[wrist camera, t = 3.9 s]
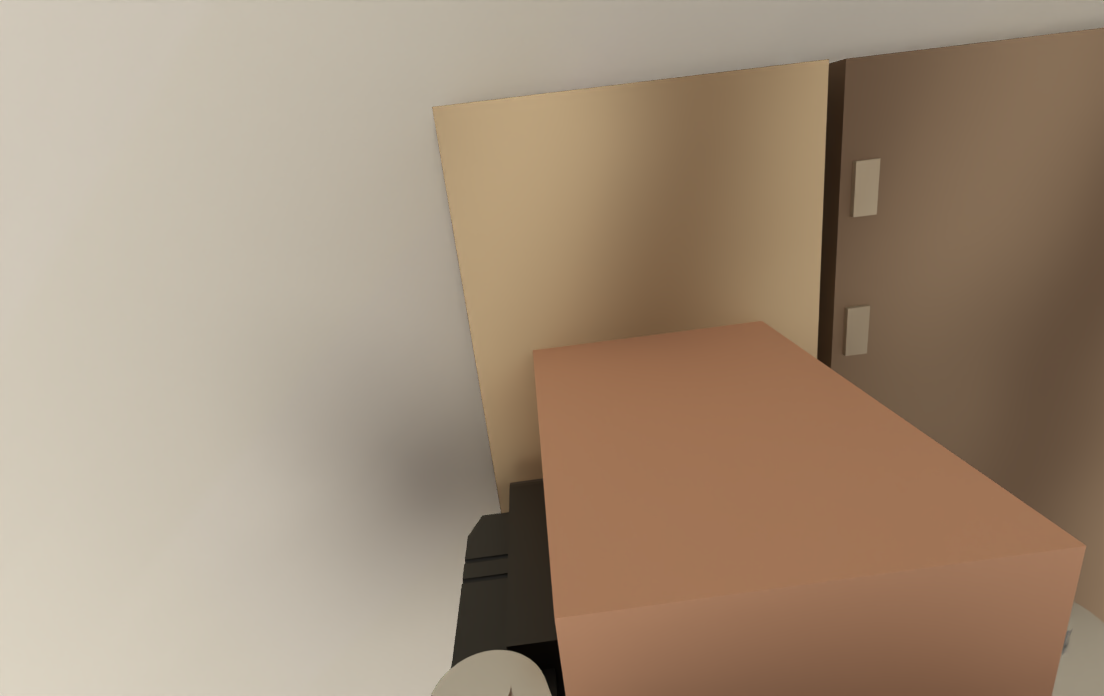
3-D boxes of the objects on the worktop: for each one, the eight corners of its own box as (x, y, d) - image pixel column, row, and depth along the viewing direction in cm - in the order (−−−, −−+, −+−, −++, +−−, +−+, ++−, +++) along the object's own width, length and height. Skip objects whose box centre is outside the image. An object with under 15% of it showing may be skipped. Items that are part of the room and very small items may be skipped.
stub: (793, 69, 10) (1423, -114, 3) (779, 682, 14) (1015, 1159, 8) (442, 112, 10) (266, 20, 3) (541, 716, 14) (565, 1229, 7)
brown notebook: (1361, 2, 10) (1475, -18, 9) (1171, 617, 15) (1231, 659, 14) (809, 68, 10) (849, 57, 9) (791, 670, 15) (816, 718, 13)
